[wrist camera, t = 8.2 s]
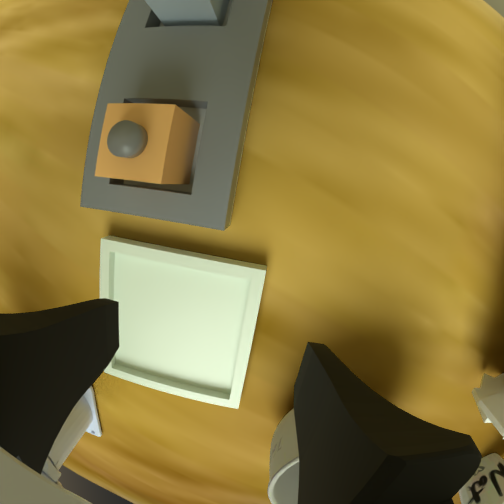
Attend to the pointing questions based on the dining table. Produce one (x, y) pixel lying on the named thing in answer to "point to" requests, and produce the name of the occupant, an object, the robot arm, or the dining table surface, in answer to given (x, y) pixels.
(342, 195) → the dining table surface
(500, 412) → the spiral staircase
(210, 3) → the seated twin plug
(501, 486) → the mug
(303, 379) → the robot arm
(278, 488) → the teacup
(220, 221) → the grey socket board
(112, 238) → the tray
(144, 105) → the orange plug
